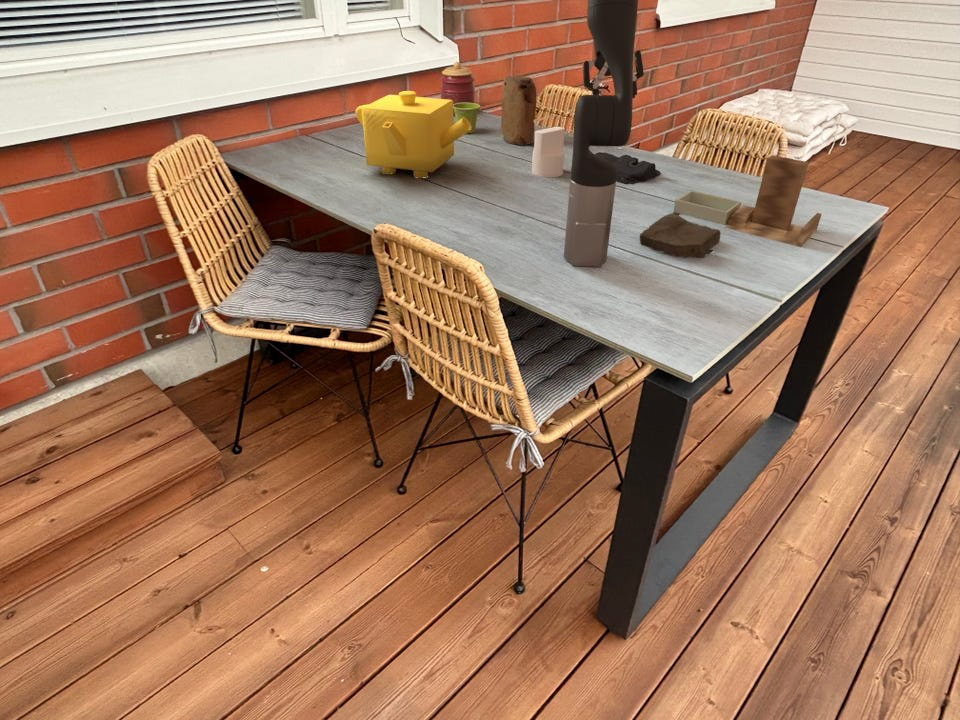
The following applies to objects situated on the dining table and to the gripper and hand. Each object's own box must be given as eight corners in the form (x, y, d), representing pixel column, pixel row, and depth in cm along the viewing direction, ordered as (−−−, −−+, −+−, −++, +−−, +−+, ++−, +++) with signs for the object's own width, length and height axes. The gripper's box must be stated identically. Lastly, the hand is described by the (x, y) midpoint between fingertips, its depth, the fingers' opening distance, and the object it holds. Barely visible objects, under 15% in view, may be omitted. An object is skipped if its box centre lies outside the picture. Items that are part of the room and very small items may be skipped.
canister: (457, 118, 238) (457, 66, 228) (433, 112, 245) (431, 61, 235) (481, 112, 246) (482, 61, 236) (457, 106, 253) (457, 57, 243)
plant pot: (468, 126, 228) (468, 101, 223) (485, 132, 222) (485, 106, 217) (447, 131, 223) (446, 105, 218) (464, 137, 217) (464, 110, 212)
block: (498, 140, 214) (499, 75, 203) (514, 136, 218) (517, 72, 207) (521, 148, 207) (524, 81, 196) (537, 143, 211) (541, 78, 200)
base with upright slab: (545, 179, 182) (548, 136, 176) (525, 171, 188) (527, 128, 182) (569, 173, 187) (572, 130, 180) (548, 165, 193) (551, 124, 186)
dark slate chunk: (607, 158, 200) (609, 143, 197) (665, 177, 186) (667, 160, 183) (572, 168, 192) (574, 152, 190) (630, 188, 178) (632, 171, 175)
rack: (723, 231, 152) (728, 211, 150) (741, 216, 160) (746, 196, 157) (799, 251, 143) (806, 229, 141) (815, 234, 151) (821, 213, 148)
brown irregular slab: (667, 226, 156) (670, 209, 153) (725, 243, 148) (730, 225, 145) (632, 247, 145) (634, 230, 143) (693, 267, 137) (697, 249, 135)
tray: (672, 215, 160) (675, 200, 158) (687, 205, 166) (690, 190, 164) (723, 228, 154) (727, 212, 151) (737, 217, 159) (741, 201, 157)
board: (750, 226, 152) (767, 158, 143) (754, 222, 154) (771, 155, 145) (784, 234, 148) (804, 165, 139) (788, 230, 150) (808, 162, 141)
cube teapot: (335, 179, 182) (325, 99, 170) (381, 149, 205) (376, 78, 193) (451, 193, 172) (449, 110, 160) (486, 161, 196) (487, 86, 184)
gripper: (580, 34, 151) (589, 107, 157) (641, 21, 150) (648, 95, 156) (576, 37, 158) (585, 107, 164) (635, 25, 157) (641, 96, 163)
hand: (615, 101), depth 160 cm, fingers open, 8 cm apart
